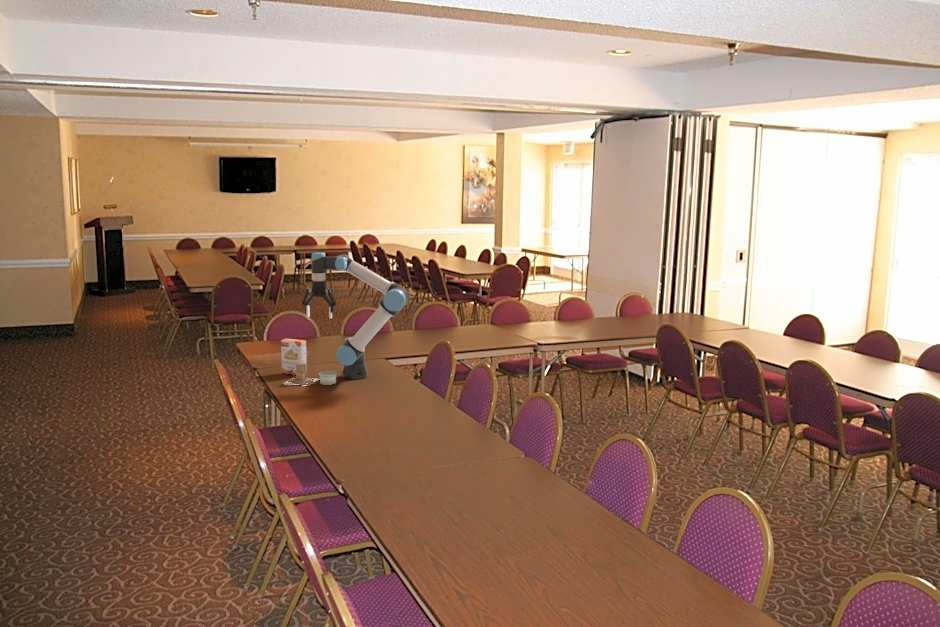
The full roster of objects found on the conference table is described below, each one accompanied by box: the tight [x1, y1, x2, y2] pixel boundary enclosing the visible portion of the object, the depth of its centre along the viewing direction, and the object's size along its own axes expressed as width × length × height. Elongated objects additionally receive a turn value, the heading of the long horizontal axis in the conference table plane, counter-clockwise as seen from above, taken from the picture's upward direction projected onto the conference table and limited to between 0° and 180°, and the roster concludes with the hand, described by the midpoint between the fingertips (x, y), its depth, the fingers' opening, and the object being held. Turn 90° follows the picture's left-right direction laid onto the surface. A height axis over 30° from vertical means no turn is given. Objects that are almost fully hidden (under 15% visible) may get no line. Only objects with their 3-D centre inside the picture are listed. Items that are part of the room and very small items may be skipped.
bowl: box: [318, 370, 338, 386], centre depth 436 cm, size 10×10×6 cm
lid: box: [291, 363, 313, 384], centre depth 439 cm, size 11×11×10 cm
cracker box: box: [280, 338, 308, 376], centre depth 456 cm, size 14×6×21 cm, turn 68°
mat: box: [282, 378, 320, 387], centre depth 440 cm, size 16×16×1 cm
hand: (319, 317), depth 438 cm, fingers open, 13 cm apart
